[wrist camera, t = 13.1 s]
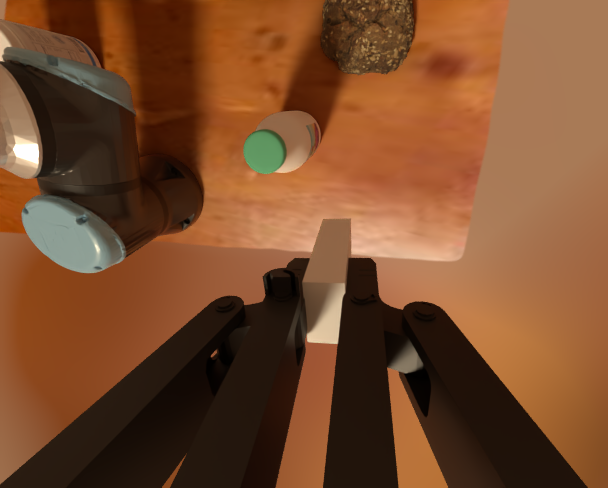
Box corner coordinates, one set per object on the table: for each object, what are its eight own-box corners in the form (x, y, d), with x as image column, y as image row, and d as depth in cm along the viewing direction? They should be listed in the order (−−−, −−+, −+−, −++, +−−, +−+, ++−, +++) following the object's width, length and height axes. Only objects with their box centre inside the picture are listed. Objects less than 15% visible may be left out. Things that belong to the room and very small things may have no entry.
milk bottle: (266, 139, 51) (215, 158, 33) (293, 99, 48) (253, 96, 30) (302, 168, 52) (271, 202, 34) (331, 131, 49) (313, 147, 31)
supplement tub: (63, 98, 54) (-33, 96, 41) (47, 35, 50) (-65, 10, 37) (111, 103, 53) (29, 102, 40) (99, 38, 49) (3, 14, 36)
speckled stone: (415, -38, 39) (422, -57, 34) (410, 71, 44) (416, 67, 39) (317, -21, 41) (312, -36, 37) (323, 81, 46) (319, 79, 42)
